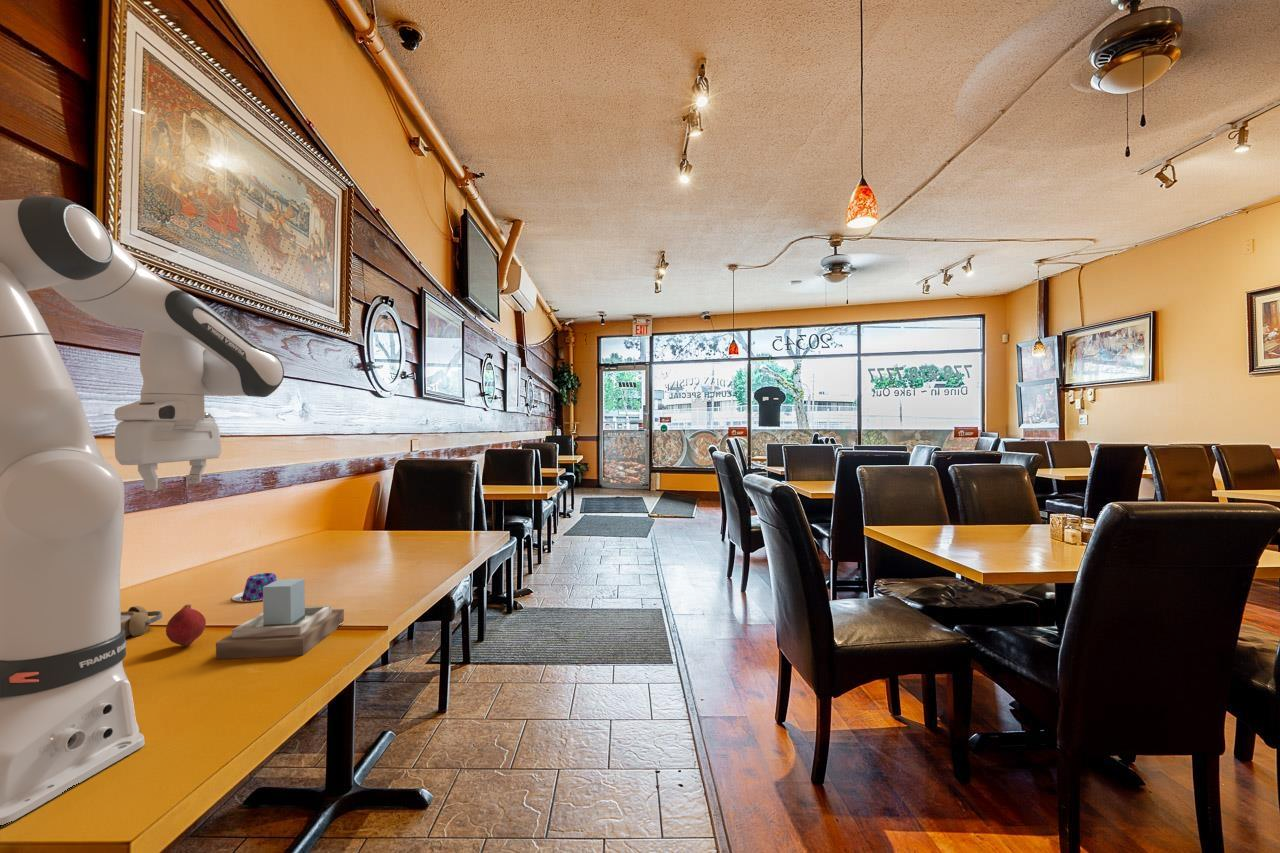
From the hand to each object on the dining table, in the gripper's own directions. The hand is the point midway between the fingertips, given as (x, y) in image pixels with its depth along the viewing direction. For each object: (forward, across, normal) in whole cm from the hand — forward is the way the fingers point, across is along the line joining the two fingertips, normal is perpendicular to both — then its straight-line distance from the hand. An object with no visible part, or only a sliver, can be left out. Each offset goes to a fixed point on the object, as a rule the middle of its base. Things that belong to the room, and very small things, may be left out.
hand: (174, 486), depth 99 cm
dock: (+31, -6, +16) cm, 35 cm away
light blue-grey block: (+28, -6, +16) cm, 32 cm away
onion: (+31, -5, -2) cm, 32 cm away
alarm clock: (+32, -12, -21) cm, 40 cm away
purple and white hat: (+32, -37, -7) cm, 49 cm away
